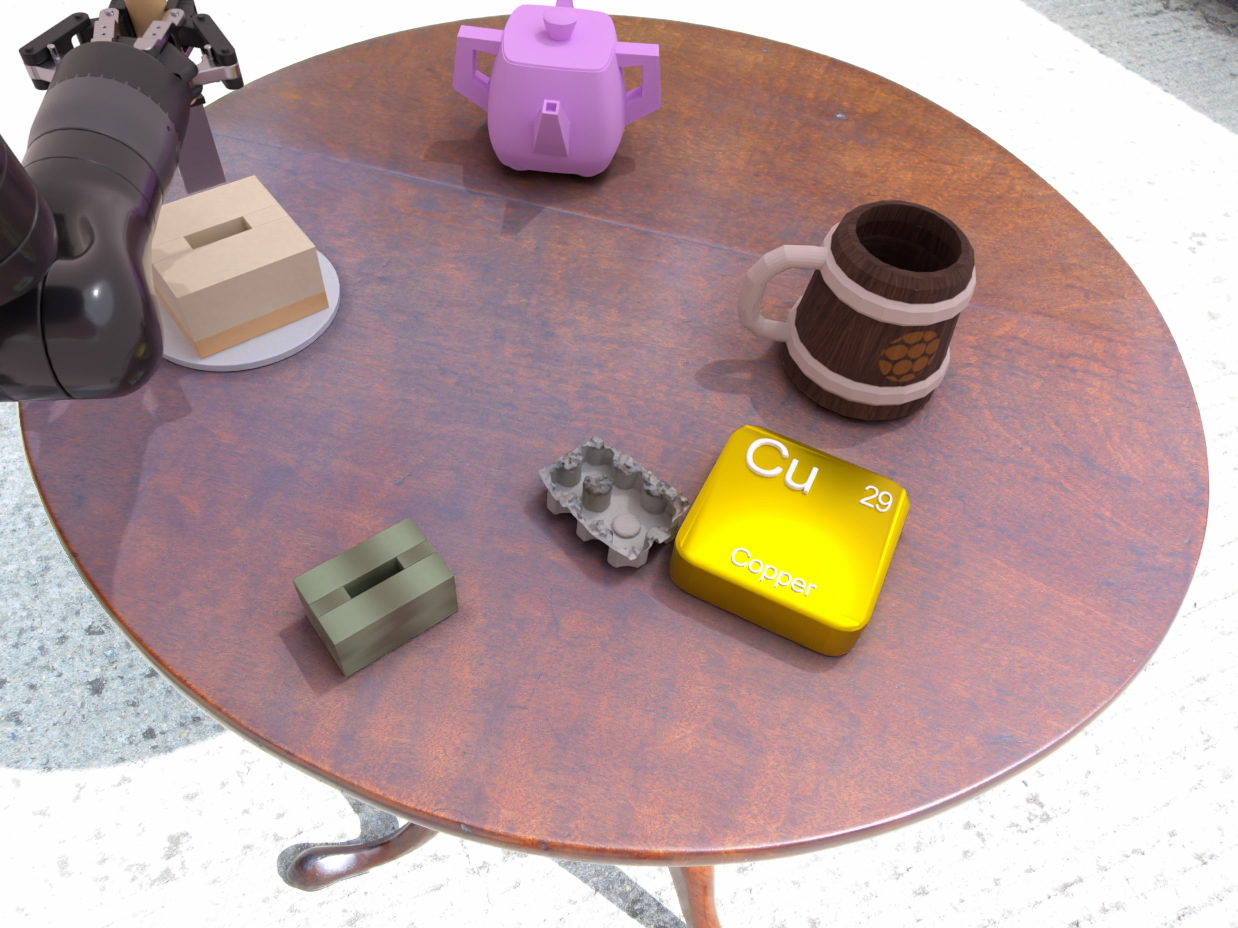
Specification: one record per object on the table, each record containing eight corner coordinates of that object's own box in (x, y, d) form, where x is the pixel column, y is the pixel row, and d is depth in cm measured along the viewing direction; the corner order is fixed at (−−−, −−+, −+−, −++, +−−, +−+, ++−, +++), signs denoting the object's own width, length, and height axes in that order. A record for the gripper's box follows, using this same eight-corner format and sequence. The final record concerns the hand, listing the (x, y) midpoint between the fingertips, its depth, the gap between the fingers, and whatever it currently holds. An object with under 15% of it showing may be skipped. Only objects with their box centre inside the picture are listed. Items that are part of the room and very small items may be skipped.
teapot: (562, 84, 112) (565, -46, 100) (671, 152, 105) (690, 21, 93) (437, 141, 103) (425, 6, 91) (548, 220, 96) (551, 84, 84)
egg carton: (689, 533, 73) (697, 503, 70) (620, 585, 69) (625, 557, 66) (600, 450, 77) (604, 419, 74) (530, 496, 74) (531, 465, 70)
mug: (922, 318, 91) (981, 189, 79) (949, 435, 81) (1021, 309, 70) (723, 300, 90) (752, 167, 78) (727, 415, 81) (761, 285, 69)
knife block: (346, 678, 63) (334, 644, 59) (305, 615, 66) (291, 579, 62) (458, 610, 67) (454, 575, 63) (416, 553, 70) (409, 516, 66)
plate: (103, 363, 79) (100, 356, 78) (173, 231, 90) (171, 224, 89) (315, 379, 80) (313, 373, 79) (358, 246, 91) (357, 240, 90)
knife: (190, 202, 73) (122, 5, 61) (177, 185, 74) (108, -12, 62) (234, 188, 75) (176, -8, 62) (221, 171, 76) (161, -24, 63)
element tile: (659, 582, 70) (666, 548, 66) (731, 448, 78) (741, 411, 75) (846, 667, 67) (865, 637, 63) (899, 518, 75) (919, 483, 72)
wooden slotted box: (200, 359, 79) (176, 298, 73) (147, 281, 84) (120, 218, 79) (329, 307, 84) (315, 246, 78) (270, 236, 89) (254, 174, 84)
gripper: (216, 79, 53) (248, -55, 64) (-48, 79, 51) (30, -59, 62) (247, 189, 59) (272, 50, 69) (12, 193, 57) (74, 50, 67)
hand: (158, 0), depth 65 cm, fingers closed on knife, 2 cm apart
